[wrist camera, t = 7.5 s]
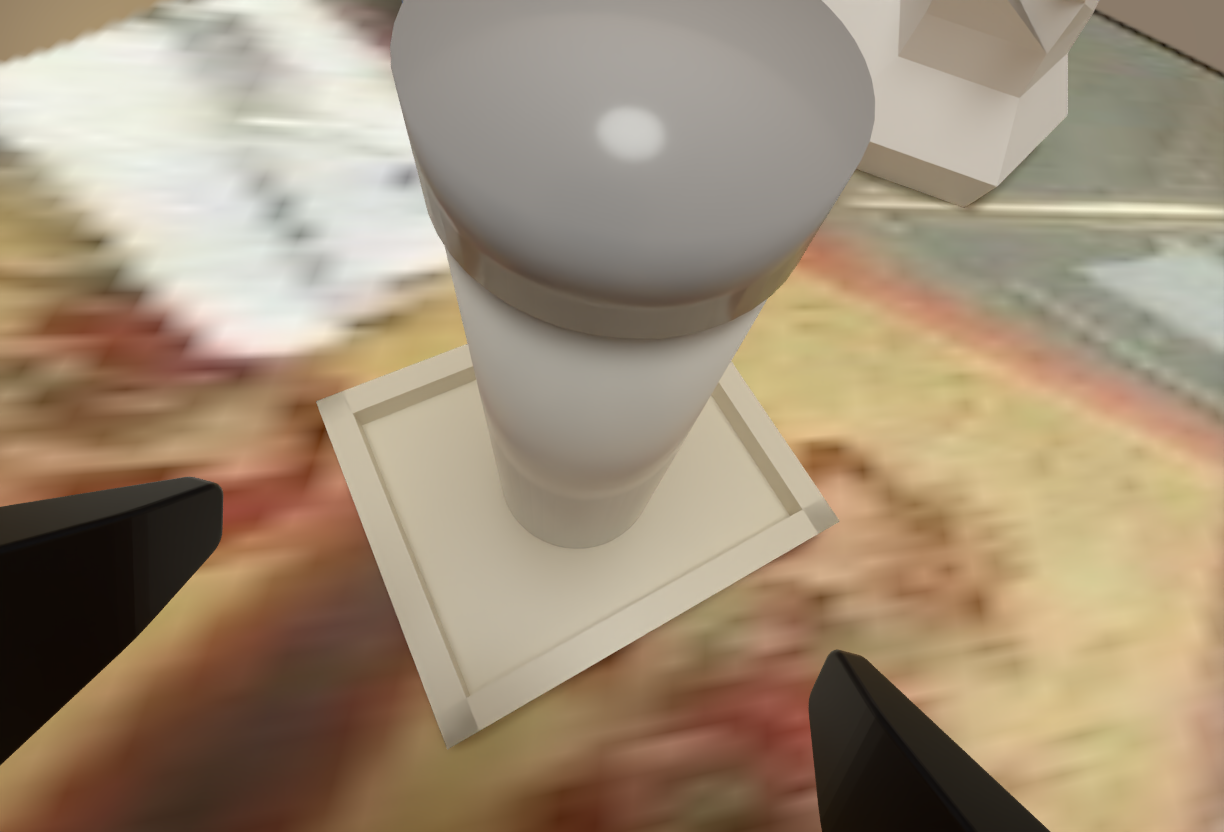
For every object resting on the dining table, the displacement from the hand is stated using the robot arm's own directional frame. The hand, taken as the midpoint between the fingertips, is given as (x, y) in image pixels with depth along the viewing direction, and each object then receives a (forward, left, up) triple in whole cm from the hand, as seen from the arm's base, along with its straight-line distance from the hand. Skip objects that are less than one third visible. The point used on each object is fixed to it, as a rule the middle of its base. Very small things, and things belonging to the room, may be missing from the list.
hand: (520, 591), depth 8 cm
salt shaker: (+3, +3, -8) cm, 9 cm away
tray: (+3, +3, -9) cm, 10 cm away
